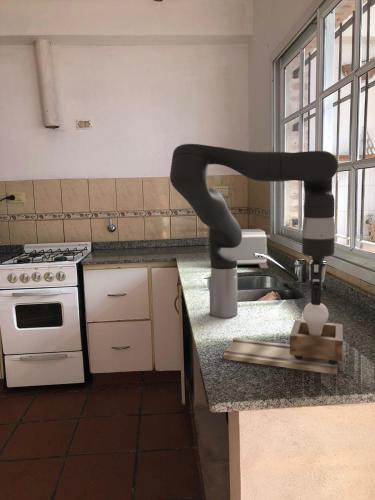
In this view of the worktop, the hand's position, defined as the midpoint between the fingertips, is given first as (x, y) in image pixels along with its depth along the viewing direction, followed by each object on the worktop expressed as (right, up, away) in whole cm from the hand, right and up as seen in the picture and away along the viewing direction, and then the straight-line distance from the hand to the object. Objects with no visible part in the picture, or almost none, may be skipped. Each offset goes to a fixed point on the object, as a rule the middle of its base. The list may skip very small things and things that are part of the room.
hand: (316, 299), depth 97 cm
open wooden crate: (0, -14, +2) cm, 15 cm away
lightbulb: (0, -12, +2) cm, 12 cm away
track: (-8, -16, +5) cm, 18 cm away
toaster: (-1, +3, +130) cm, 130 cm away
